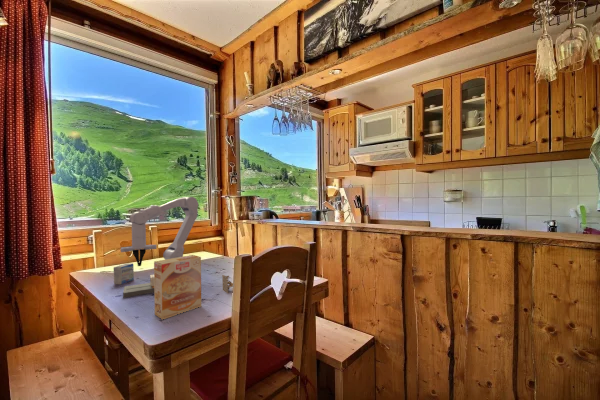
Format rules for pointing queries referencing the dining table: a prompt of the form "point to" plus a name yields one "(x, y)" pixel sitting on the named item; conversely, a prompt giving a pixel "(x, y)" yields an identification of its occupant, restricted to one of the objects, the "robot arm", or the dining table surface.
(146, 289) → the fader panel
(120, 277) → the medicine box
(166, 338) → the dining table surface
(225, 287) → the architectural model
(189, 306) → the coffeecake box
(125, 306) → the dining table surface
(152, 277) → the fader knob
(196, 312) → the dining table surface
